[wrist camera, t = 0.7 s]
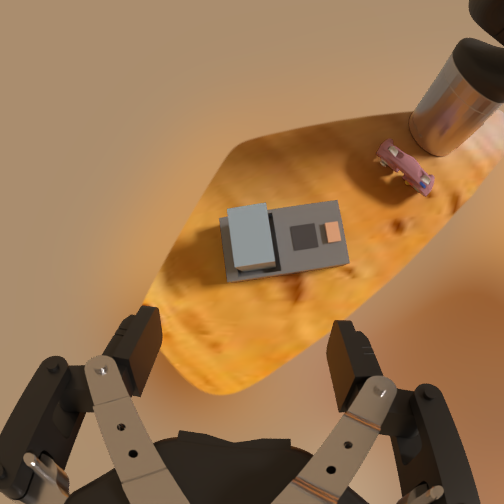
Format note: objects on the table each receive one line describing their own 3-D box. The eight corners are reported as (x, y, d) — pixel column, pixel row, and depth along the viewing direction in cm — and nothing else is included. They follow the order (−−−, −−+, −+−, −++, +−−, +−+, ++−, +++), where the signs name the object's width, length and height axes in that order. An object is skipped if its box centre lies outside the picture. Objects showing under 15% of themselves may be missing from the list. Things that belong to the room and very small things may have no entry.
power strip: (332, 207, 39) (338, 198, 35) (343, 265, 38) (350, 262, 34) (224, 224, 40) (218, 216, 36) (231, 282, 39) (226, 281, 35)
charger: (268, 221, 38) (265, 202, 29) (275, 267, 37) (275, 261, 29) (238, 226, 38) (227, 208, 30) (244, 272, 37) (234, 267, 29)
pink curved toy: (370, 158, 41) (371, 154, 35) (387, 137, 39) (390, 129, 33) (418, 200, 39) (427, 203, 33) (434, 178, 38) (446, 178, 31)
